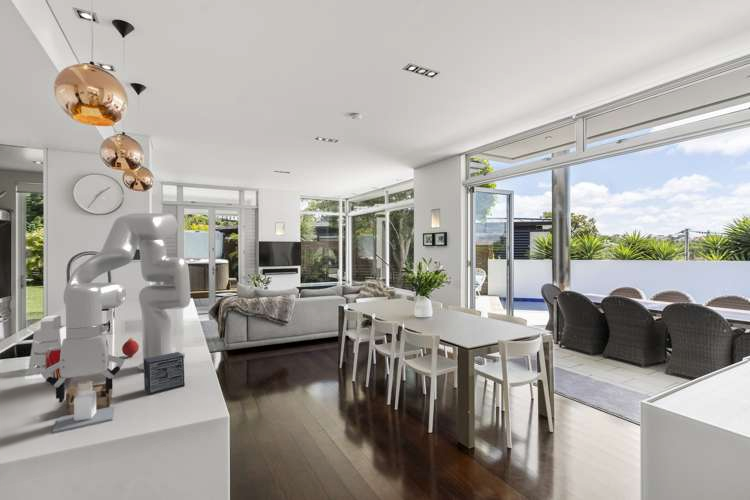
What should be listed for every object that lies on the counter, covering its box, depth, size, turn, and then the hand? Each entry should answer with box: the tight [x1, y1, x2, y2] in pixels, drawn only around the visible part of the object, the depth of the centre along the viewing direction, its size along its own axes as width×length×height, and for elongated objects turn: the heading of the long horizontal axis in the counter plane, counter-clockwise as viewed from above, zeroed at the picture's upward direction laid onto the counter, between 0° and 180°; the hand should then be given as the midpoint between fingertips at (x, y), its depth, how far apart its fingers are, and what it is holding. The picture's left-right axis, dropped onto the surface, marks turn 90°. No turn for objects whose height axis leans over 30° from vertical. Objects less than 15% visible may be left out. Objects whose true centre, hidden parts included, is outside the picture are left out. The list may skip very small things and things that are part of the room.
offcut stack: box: [71, 386, 104, 403], centre depth 105 cm, size 7×5×5 cm
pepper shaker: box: [74, 379, 96, 421], centre depth 97 cm, size 4×4×10 cm
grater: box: [27, 314, 66, 376], centre depth 139 cm, size 10×10×20 cm
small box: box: [143, 351, 186, 396], centre depth 119 cm, size 11×6×10 cm, turn 135°
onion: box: [121, 337, 140, 358], centre depth 153 cm, size 6×6×8 cm
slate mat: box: [52, 405, 115, 434], centre depth 97 cm, size 12×9×1 cm
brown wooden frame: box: [65, 382, 113, 416], centre depth 108 cm, size 10×14×6 cm, turn 33°
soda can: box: [44, 345, 72, 386], centre depth 125 cm, size 7×7×12 cm
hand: (85, 396), depth 97 cm, fingers open, 9 cm apart
